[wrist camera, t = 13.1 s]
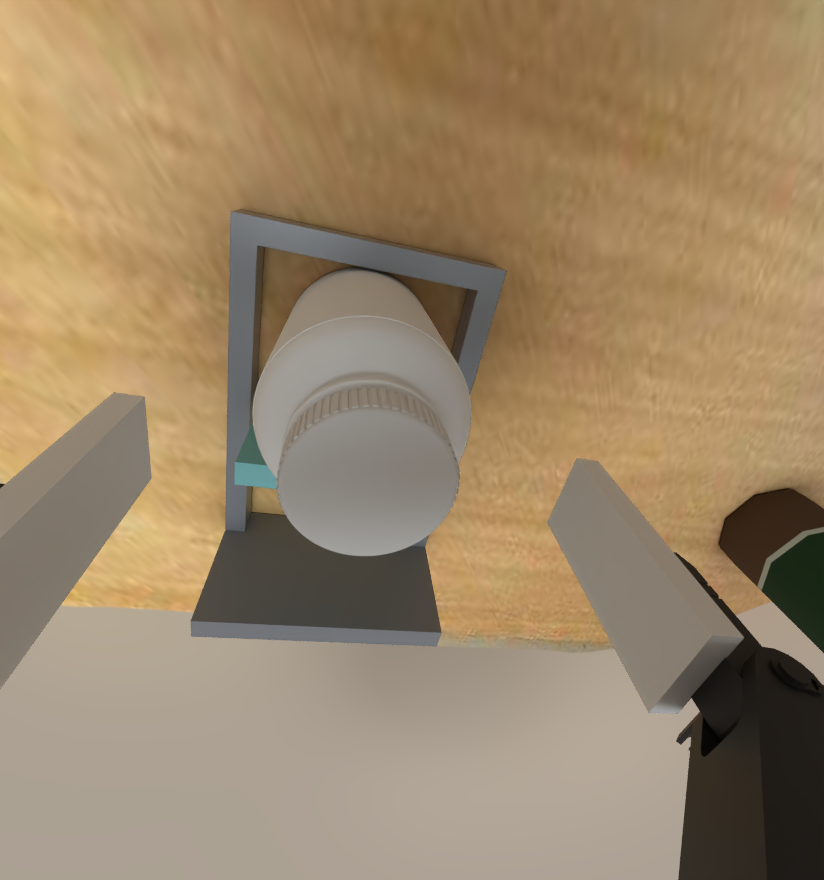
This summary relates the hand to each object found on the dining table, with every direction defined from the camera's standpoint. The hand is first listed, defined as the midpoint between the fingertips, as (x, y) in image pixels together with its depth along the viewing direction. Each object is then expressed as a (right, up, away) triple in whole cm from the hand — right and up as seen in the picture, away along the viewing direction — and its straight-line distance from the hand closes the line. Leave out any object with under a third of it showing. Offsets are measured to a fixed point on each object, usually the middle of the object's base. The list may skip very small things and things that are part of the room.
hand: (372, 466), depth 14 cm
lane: (-3, +3, +14) cm, 14 cm away
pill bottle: (-2, +7, +12) cm, 14 cm away
